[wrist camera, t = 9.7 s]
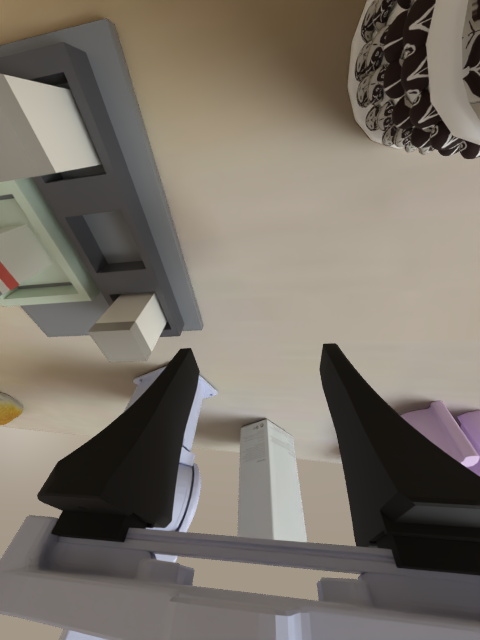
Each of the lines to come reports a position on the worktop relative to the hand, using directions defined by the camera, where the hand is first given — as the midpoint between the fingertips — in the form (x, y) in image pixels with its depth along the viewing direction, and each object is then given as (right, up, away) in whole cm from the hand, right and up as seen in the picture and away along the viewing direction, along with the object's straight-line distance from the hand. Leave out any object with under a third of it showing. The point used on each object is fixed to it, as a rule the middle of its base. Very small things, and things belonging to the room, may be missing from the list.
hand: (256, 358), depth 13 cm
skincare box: (+4, -17, +27) cm, 33 cm away
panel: (-16, +9, +7) cm, 20 cm away
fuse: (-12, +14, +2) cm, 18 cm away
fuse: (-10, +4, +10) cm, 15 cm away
